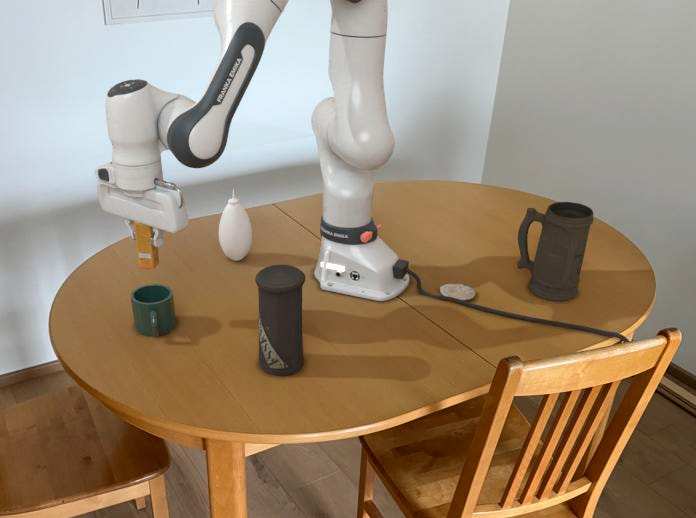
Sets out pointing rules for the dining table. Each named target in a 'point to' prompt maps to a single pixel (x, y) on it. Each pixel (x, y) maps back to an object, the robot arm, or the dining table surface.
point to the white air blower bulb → (235, 230)
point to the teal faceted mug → (153, 309)
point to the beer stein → (556, 249)
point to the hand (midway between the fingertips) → (147, 242)
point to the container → (280, 319)
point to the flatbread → (458, 291)
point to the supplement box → (146, 246)
